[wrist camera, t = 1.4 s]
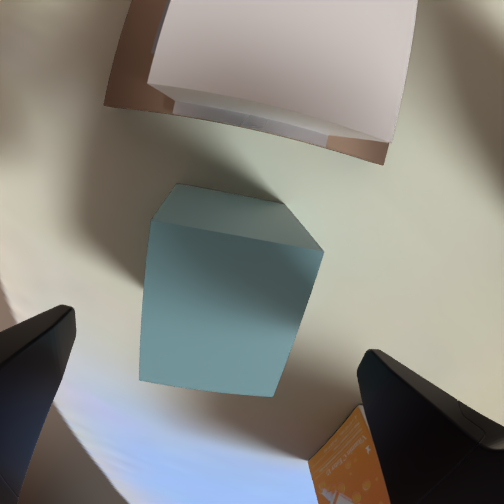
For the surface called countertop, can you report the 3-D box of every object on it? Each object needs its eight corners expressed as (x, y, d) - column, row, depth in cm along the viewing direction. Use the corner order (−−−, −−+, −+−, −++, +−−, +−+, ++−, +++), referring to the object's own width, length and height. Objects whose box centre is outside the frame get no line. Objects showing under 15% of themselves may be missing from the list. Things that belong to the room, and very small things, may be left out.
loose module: (284, 204, 15) (324, 251, 9) (255, 314, 17) (272, 396, 11) (177, 183, 14) (150, 220, 9) (160, 299, 16) (139, 380, 11)
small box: (356, 402, 21) (423, 555, 9) (413, 406, 22) (481, 527, 10) (304, 461, 23) (338, 591, 11) (361, 462, 25) (403, 571, 13)
